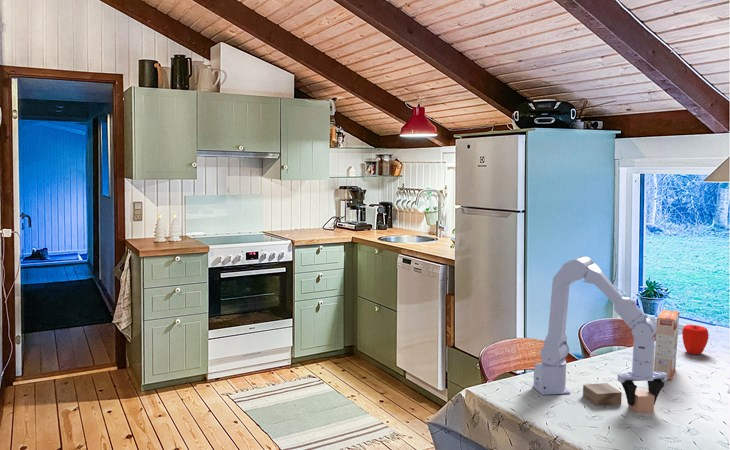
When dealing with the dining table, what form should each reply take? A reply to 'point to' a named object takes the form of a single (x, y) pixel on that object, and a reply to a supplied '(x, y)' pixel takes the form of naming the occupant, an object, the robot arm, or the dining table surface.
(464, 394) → the dining table surface
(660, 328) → the cracker box
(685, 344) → the apple
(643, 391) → the terracotta block
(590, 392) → the walnut base
